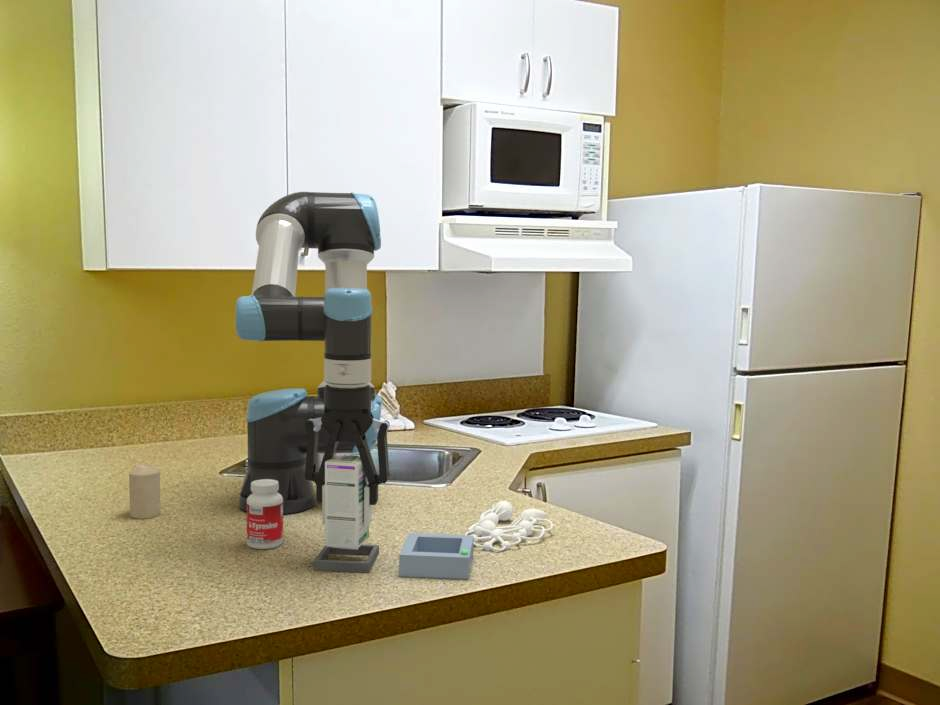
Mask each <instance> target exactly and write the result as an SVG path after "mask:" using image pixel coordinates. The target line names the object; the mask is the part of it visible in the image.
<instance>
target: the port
mask: <svg viewBox="0 0 940 705" xmlns="http://www.w3.org/2000/svg"><path fill="white" fill-rule="evenodd" d="M474 535H475V534H474ZM474 535H472V534H468V535H465V534H443V533H442V534H441V533H423V532H422V533H421V532H420V533H419V532H409V533H408V535H407V536H406V539H405V540H404V541H405V542H404V543H403V546H402V548H401V550H400V552H399V556H398V557H399V558H398V560H399V561H398V563H399V564H398V565H399V566H398V567H399V568H398V569H399V570H398V577H405V578H406V577H407V578H408V577H410V578H430V579H431V578H432V579H454V580H456V579H457V580H458V579H459V580H469V579H470V575H471V574H470V573H471V570H472V564H473V559H474V545H473V541H474Z"/></svg>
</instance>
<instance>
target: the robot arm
mask: <svg viewBox="0 0 940 705" xmlns="http://www.w3.org/2000/svg"><path fill="white" fill-rule="evenodd" d="M255 240H256V242H257V245H258V251H257V256H256V257H257V258H256V264H255V270H254V278H253V284H252V290H251V294H250V295H245V296H244V295H243V296H240V297H238V298H237V300H236V304H235V317H234V318H235V331H236V332H235V333H236V335H237V336H238V338H239V339H241V340H243V341H244V340H245V341H256V342H257V341H258V342H261V343H262V342H276V341H277V342H282V341H285V342H286V341H287V342H289V341H294V342H295V341H299V342H300V341H301V342H302V341H303V342H304V341H305V342H306V341H307V342H310V341H312V342H313V341H314V342H323V343H324V354H323V355H324V356H323V364H324V365H323V380H322V382H320V384H319V385H318V386H317V395H314V396H313V395H308V392H307V390H306V389H305V388H301V387H299V388H297V387H296V388H283V389H282V388H281V389H276V390H271V391H270V390H269V391H265V392H262V393H258V394H255V395H254V396H253V397H251V398H250V399H249V400H248V403H247V413H246V414H247V417H246V419H245V421H246V423H247V470H246V473H245V476H244V479H243V482H242V485H241V488H240V491H239V494H238V506H239V507H238V508H239V509H240V510H241V511H243V512H246V513H247V498H248V497H249V495H251V494H252V493H253V492H252V491H251V482H253V481H255V480H262V479H272V480H276V481H278V483H279V490H278V491H277V493H279V494H281V496H282V497H283V515H288V514H294V513H299V512H303V511H306V510H308V509H311V508H312V507H314V506H315V504H316V502H317V504H322V508H321V509H322V510H321V511H322V513H321V515H322V516H321V517H322V518H321V520H322V521H321V522H322V523H321V524H322V525H325V462H326V461H327V460H330V459H331V458H333V457H334V456H335V455H336V454H337V453H354V454H359V455H360V458H361V461H362V464H363V467H364V470H365V473H366V477H367V480H368V483H367V484H366V485H365V487H364V526H370V525H371V522H372V521H373V519H372V518H373V517H372V516H373V509H372V508H373V506H376V505H377V503H378V502H379V485H380V484H381V485H382V484H386V483H387V482H388V480H389V478H390V475H391V474H390V465H389V464H390V462H389V448H388V446H389V445H388V432H389V429H390V424H391V423H390V422H389V421H388V420H384V421H382V420H381V416H382V415H381V414H382V403H383V398H382V397H383V396H381V395H379V394H375V392H376V390H375V389H376V388H375V385H374V384H373V383H372V382H371V381H372V353H371V352H372V314H373V305H372V293H371V292H370V291H369V289H368V265H369V263H370V262H372V261H373V259H374V258H375V252H376V251H379V250H381V247H382V238H381V225H380V217H379V211H378V207H377V203H376V200H375V198H374V197H373V196H372V195H369V194H364V193H354V192H353V191H352V192H345V193H344V192H312V191H311V192H310V191H297V192H293V193H289V194H286V195H284V196H283V197H281V198H279V199H278V200H277V199H276V201H274V202H273V203H271V204H270V205H269V206H268V207H267V208H266V209H265V211H264V212H263V213H262V214H261V215H260V217H259V219H258V222H257V224H256V229H255ZM301 249H317V258H318V259H320V261H321V262H322V263H324V266H325V267H324V268H325V274H324V275H325V279H324V281H325V282H324V283H325V284H324V285H325V286H324V287H325V288H324V290H325V291H324V296H297V294H296V293H297V280H298V264H299V251H301ZM376 445H377V459H378V471H379V472H378V473H379V474H378V473H377V468H376V467H375V463H374V460H373V457H372V454H371V451H373V449H375V447H376ZM318 454H323V457H322V460H321V462H320V465H319V469H318V472H317V461H318V460H317V459H318ZM313 483H314V484H315V487H316V489H315V488H314V485H313Z"/></svg>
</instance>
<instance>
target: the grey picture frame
mask: <svg viewBox="0 0 940 705" xmlns="http://www.w3.org/2000/svg"><path fill="white" fill-rule="evenodd" d="M330 554H335V555H336V554H341V555H343V554H344V555H360V556H361V555H363V556H364V555H365V556H367V558H366V560H365V561H356V560H354V561H353V560H352V561H351V560H334V559H333V560H330V559H328V557H329V555H330ZM379 554H380V544H364V543H363V544H362V545H361V546H360V547H359V549H358V550H355V549H343V548H334V547H328V546H326V545H324V546H323V547H322V549H321V550H320V552H319V553H318V554H317V556H316V557H315V559H313V561H312V569H313V571H318V572H319V571H320V572H321V571H322V572H340V573H342V572H343V573H344V572H346V573H365V574H367V573H368V574H369V573H370V572H371V570H372V568H373V566H374V564H375V562H376V560H377V558H378V556H379Z"/></svg>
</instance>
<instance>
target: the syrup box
mask: <svg viewBox="0 0 940 705" xmlns="http://www.w3.org/2000/svg"><path fill="white" fill-rule="evenodd" d="M367 483H368V480H367V477H366V473H365V470H364V467H363V464H362V461H361V458H360V455H359V453H335V455H334V456H333V458H331V459H330V460H327V461H326V462H325V524H324V544H325V545H326V546H328V547H334V548H343V549H355V550H358V549H359V547H360V546H361V545H362V544H363V545H364V543H365V542H366V541H367V540H368V539H369V537H370V532H369V531H370V529H369V528H370V527H369V526H370V525H369V526H364V487H365V485H366V484H367ZM325 545H324V546H325Z"/></svg>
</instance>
